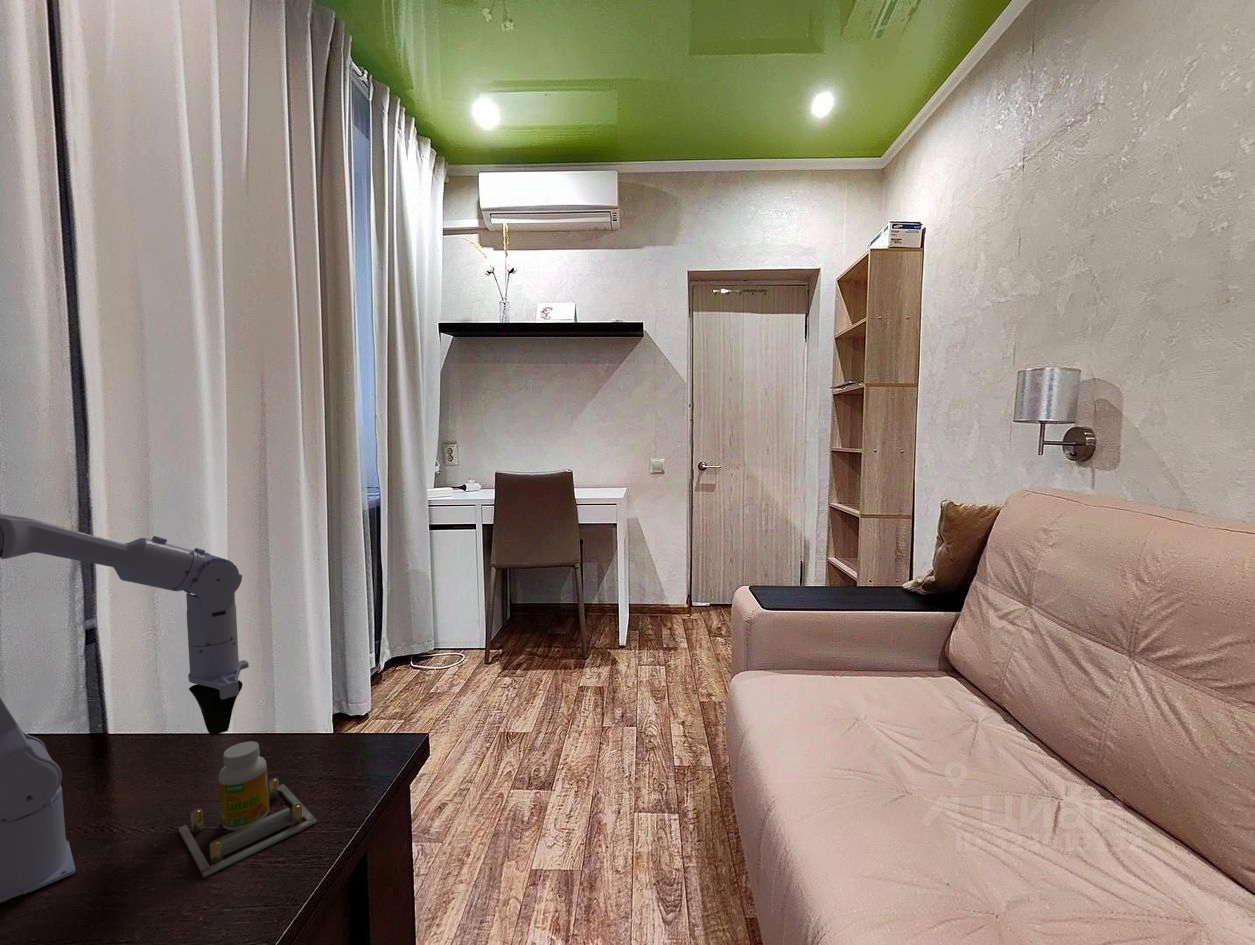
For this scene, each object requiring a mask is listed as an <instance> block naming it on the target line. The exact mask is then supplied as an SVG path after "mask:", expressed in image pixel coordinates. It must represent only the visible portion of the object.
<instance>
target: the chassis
mask: <svg viewBox="0 0 1255 945" xmlns="http://www.w3.org/2000/svg"><path fill="white" fill-rule="evenodd" d="M279 782H280V781H279V777H273V778H270V779H269V780H268V794H269V800H272V801H273V800H276V799H277V798H280V794H281V795H282V796H283V797H284V799H285V800H286V801H287V802H288V803H289V804H290V805H291V809H290V808H289V807H286V808H284V809H281V810H279V811H276V812H274V813H272V814H270V815H267V816H266V817H265V818H263V819H261V820H259V821H256V822H254V823H252V824H250V825H247V826H245V827H243V828H241V829H238V830H234V831H231V832H230V833H227V834H225V835H222V836H221V837H219V838H218V839H214V840H212V841H211V842H210V843H209V856H210V857H209V858H210V864H209V862H208V860H207V859H206V857H205V856H204V854H203V852H202V849H201V848H200V846H199V844H198V843H197V841H196V840H195V837H194V835H193V834H197V833H199V832H201V831H202V830H203V829H204V818H203V809H202V808H201V807H200V808H196V809H193V810H192V811H191V812H190V820H191V830H190V828H189V827H188V825H187V824H184V825H181V826H180V827H178V832H179V834H180V836H181V838H182V840H183V842H184V844H185V845H186V848H188V851H189V853H190V855H191V857H192V859H193V860H194V862H195V865H196V866H197V867H198V869H199V871H200V873H201V875H202V877H203V878H206V877H209V876H210V875H212V874H214V873H217V872H218V871H220V870H222V869H225V868H226V867H229V866H231V865H234V864H235V863H237V862H240V861H241V860H243V859H246V858H247V857H250V856H251V855H254V854H256V853H258V852H260V851H262V850H264V849H266V848H268V847H270V846H273V845H274V844H276V843H277V844H278V842H281V841H282V840H284V839H285V840H286V839H287V838H289V837H291V836H294V835H295V834H297V833H300V832H302V831H304V830H305V828H306V829H308V828H310V827H312V826H313V825H312V824H314V825H316V824H317V818H315V816H314V815H313V814H312V813H311V812H310V810H308V809H307V808H306V807H305V805H303V803H302V802H301V801H300V800H299V799H298V798H297V796H295V795H294V794H293V793H292V791H291V790H290V789H289V788H288V787H287V786H286V785H285V784H284V783H282V784H279ZM291 817H292V818H291ZM303 818H304V819H303ZM315 823H316V824H315ZM290 825H292V827H289V828H288V829H286V830H284V831H281V832H280V833H278V834H275V835H273V836H271V837H269V838H267V839H265V840H263V841H260V842H259V843H257V844H254V845H252V846H250V847H247V848H246V849H244V850H242V851H239V852H237V853H235V854H233V855H231V856H229V857H226V858H225V859H224V856H227V855H228V854H231V853H233V852H235V851H237V850H240V849H241V848H243V847H246V846H248V845H250V844H252V843H255V842H257V841H258V840H261V839H263V838H265V837H267V836H269V835H271V834H274V833H275V832H276V833H277V832H278V831H280V830H281V829H284V828H287V827H288V826H290ZM311 825H312V826H311ZM309 826H310V827H309ZM307 827H308V828H307Z"/></svg>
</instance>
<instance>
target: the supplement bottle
mask: <svg viewBox="0 0 1255 945" xmlns="http://www.w3.org/2000/svg"><path fill="white" fill-rule="evenodd" d="M260 753H261V751H260V745H259V743H258V742H256V741H244V742H239V743H237V744H234V745H232V746H230V747H228V748H227V749H226V750H225V751H224V752H223V755H222V756H223V765H224V767H222V768H221V770H220V772H219V773H218V790H219V802H220V804H219V806H220V819H221V825H222V827H223V828H224V829H225V830H228V831H232V832H234V831H236V830H238V829H241V828H243V827H245V826H247V825H250V824H252V823H254V822H256V821H259V820H261V819H263V818H265V817H268V814H269V811H270V798H269V780H268V769H267V768H268V767H267V761H266V760H265V758H264V757H262V756H260Z"/></svg>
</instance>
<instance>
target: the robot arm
mask: <svg viewBox="0 0 1255 945" xmlns="http://www.w3.org/2000/svg"><path fill="white" fill-rule="evenodd" d="M167 542H168V539H167V538H164V537H160V536H157V535H154V536H152V538H151V539H150V538H146V537H140V538H137V539H135V540H132V541H129V542H127V543H126V542H125V543H122V542H118V541H114V540H111V539H106V538H103V537H100V536H96V535H93V534H88V533H85V532H81V531H78V530H74V529H70V528H66V527H63V526H60V525H56V524H53V523H52V524H51V523H48V522H44V521H40V520H39V519H38V520H37V519H34V518H29V517H23V516H18V515H17V516H16V515H9V514H3V513H0V559H1V560H6V559H11V558H15V557H18V556H24V555H27V554H28V555H29V554H33V553H36V554H37V553H39V554H42V555H43V554H44V555H47V556H52V557H59V558H63V559H68V560H74V561H79V562H85V563H88V564H90V563H91V564H94V565H100V566H106V567H111V568H113V570H114V571H115V573H116V574H117V577H118V578H119V579H120V580H121V581H124V582H129V583H133V584H139V585H144V586H148V587H151V588H152V587H153V588H157V589H163V590H167V591H172V592H181V591H183V592H184V593H186V594H185V596H186V598H185V599H186V625H187V627H186V628H187V642H188V643H187V644H188V645H187V647H188V660H189V664H188V665H189V673H188V676H187V677H188V682H189V683H192V684H194V685H191V686H190V687H189V688H188V690H189V691H190V692H191V694H192V695H193V697H194V698H195V700H196V702H197V704H198V706H199V708H200V711H201V713H202V714H201V715H202V717H203V721H204V722H203V723H204V725H205V727H206V730H207V732H208V734H209V735H210V736H211V737H213V736H216V735H217V736H218V735H220V734H223V733H226V732H228V731H229V728H230V724H231V720H232V715H233V710H234V706H235V703H236V700H237V698H238V696H239V695H240V692H241V690H242V689H243V682H242V681H241V680H240V679H239V677H240V673H241V671H242V670H244V669H247V668H249V667H250V666H249V661H248V660H244V659H243V660H239V658H240V657H239V644H238V643H239V641H238V640H239V639H238V624H237V623H238V622H237V621H238V620H237V604H236V592H237V591H238V589H239V587H240V586H241V584H242V581H243V580H242V579H243V575H242V574H240V571H239V569H238V567H237V565H236V564H234V563H233V561H231V560H229V559H226V558H223V557H220V556H216V555H213V554H210V553H209V552H206V550H205V549H202V548H199V547H195V548H194V549H188V548H185V547H181V546H179V545H178V546H177V545H173V544H170V543H167ZM47 749H48V748H47V746H46V745H45V743H44V741H43V740H41V739H39V738H37V737H35V736H33V735H30V734H28V733H25V731H23V729H22V728H21V727H20V725H19V724H18V722H17V721H16V719H15V717H13V715H12V713H11V712H10V710H9V709H8V706H6V704H5V702H4V701H3V699H2V697H1V696H0V902H2V901H5V900H7V899H10V898H12V897H15V896H17V895H18V896H19V895H21V894H24V895H26V893H27V894H28V892H29V893H32V892H34V891H36V890H38V889H41V888H43V887H45V886H47V885H48V886H49V885H50V884H52V883H55V882H58V881H59V880H62V879H64V878H68V877H69V876H71V875H73V874H74V873H76V867H75V862H74V858H73V854H72V849H71V846H70V841H69V840H67V838H66V825H65V814H64V812H65V810H64V801H63V787H62V785H61V783H62V778H63V776H62V775H63V773H62V769H61V767H60V765H58V764H57V762H55V761H54V760H53V759H52V757H51V756H50V754H49V753H48V750H47ZM19 897H20V896H19Z"/></svg>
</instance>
